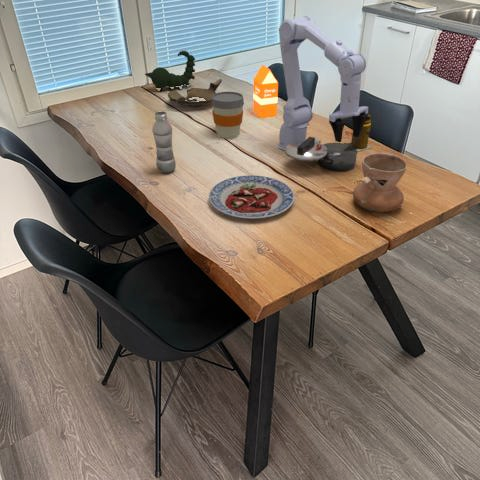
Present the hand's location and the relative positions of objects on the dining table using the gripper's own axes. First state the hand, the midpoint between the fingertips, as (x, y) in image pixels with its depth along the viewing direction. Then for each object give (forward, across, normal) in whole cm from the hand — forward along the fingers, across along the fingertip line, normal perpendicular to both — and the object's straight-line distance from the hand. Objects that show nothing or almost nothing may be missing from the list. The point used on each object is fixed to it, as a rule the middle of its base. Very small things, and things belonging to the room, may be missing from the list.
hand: (347, 138), depth 149 cm
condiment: (+11, +17, +13) cm, 24 cm away
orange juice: (+6, +6, +60) cm, 60 cm away
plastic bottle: (+8, -52, +31) cm, 61 cm away
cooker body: (+11, 0, +7) cm, 13 cm away
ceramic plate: (+11, -38, -1) cm, 39 cm away
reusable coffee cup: (+7, -18, +48) cm, 52 cm away
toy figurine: (+2, -14, +114) cm, 115 cm away
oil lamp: (+4, -12, +88) cm, 88 cm away
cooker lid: (+5, -9, +9) cm, 14 cm away
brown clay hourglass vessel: (+13, -6, -22) cm, 26 cm away
